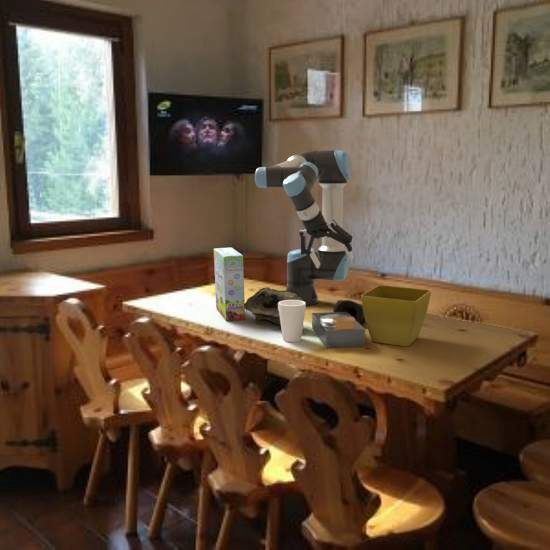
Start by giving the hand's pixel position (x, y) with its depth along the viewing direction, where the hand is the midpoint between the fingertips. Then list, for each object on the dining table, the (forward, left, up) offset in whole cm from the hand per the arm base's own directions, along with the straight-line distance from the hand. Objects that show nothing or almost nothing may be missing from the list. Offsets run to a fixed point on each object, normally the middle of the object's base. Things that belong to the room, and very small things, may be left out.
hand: (335, 262), depth 224 cm
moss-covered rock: (-7, -21, -25) cm, 33 cm away
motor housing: (+14, -2, -24) cm, 28 cm away
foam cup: (+14, -18, -24) cm, 34 cm away
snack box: (-25, -37, -25) cm, 51 cm away
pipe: (-7, +8, -25) cm, 27 cm away
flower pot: (+20, +17, -25) cm, 36 cm away
